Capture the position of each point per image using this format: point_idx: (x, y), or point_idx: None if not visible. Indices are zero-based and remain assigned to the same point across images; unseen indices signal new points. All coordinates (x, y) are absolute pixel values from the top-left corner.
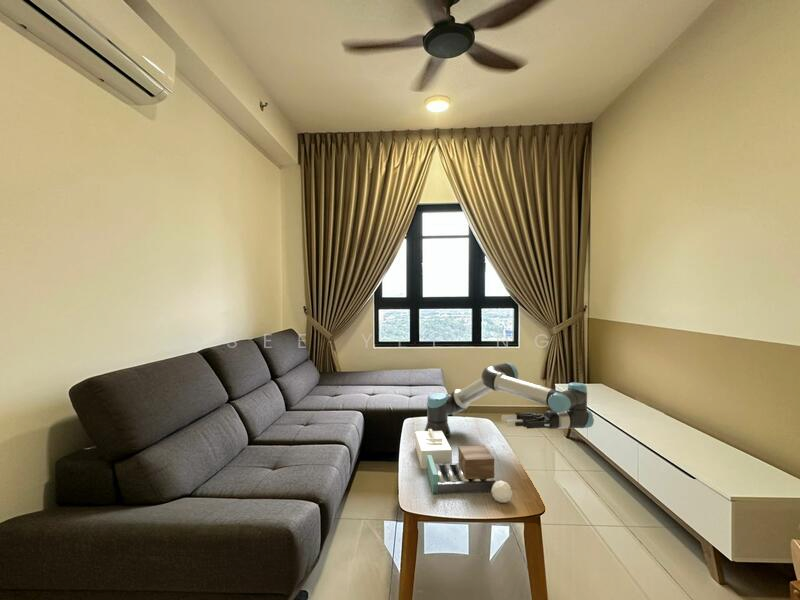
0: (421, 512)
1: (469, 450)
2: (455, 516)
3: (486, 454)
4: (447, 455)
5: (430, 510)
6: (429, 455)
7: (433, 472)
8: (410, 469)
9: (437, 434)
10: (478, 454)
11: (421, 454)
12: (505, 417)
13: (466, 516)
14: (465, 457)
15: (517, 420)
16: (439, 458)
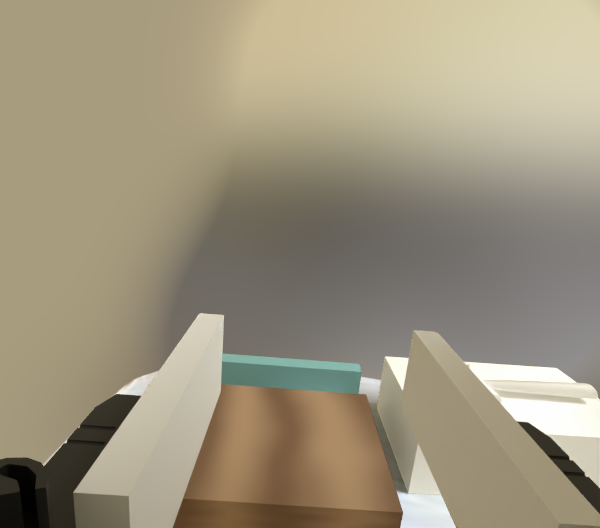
0: (147, 375)
1: (314, 417)
2: (79, 427)
3: (249, 475)
4: (410, 434)
5: (144, 389)
6: (356, 367)
7: (233, 356)
8: (367, 387)
9: (583, 417)
10: (259, 439)
11: (383, 367)
12: (424, 381)
13: (55, 452)
14: (237, 387)
15: (141, 398)
16: (398, 420)
